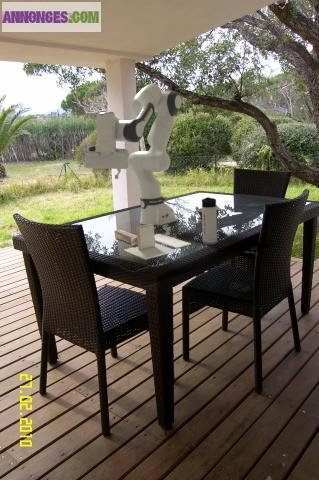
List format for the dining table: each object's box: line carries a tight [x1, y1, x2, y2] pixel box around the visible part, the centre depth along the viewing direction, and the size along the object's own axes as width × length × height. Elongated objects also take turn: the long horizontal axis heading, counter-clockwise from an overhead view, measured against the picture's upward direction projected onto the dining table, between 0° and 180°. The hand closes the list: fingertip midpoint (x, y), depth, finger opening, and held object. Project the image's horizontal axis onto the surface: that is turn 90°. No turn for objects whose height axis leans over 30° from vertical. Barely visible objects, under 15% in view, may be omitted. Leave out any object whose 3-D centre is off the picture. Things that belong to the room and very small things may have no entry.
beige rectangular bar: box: [114, 229, 138, 247], centre depth 186 cm, size 6×19×4 cm, turn 35°
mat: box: [123, 242, 177, 260], centre depth 169 cm, size 16×18×1 cm
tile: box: [136, 224, 156, 250], centre depth 171 cm, size 8×2×10 cm, turn 125°
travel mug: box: [201, 196, 218, 246], centre depth 175 cm, size 6×7×20 cm
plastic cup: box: [197, 206, 221, 224], centre depth 193 cm, size 11×11×12 cm
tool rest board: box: [154, 233, 192, 249], centre depth 181 cm, size 8×24×1 cm, turn 35°
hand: (106, 178), depth 185 cm, fingers open, 8 cm apart
